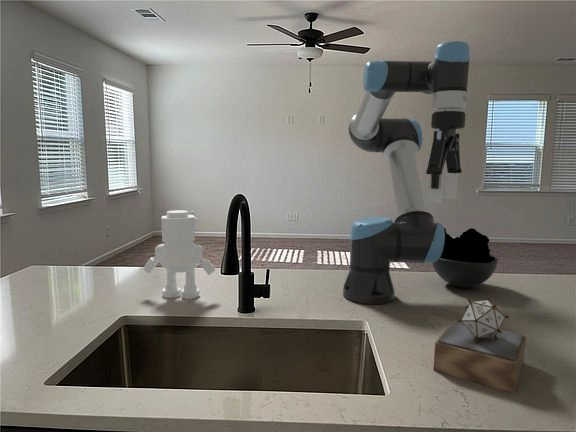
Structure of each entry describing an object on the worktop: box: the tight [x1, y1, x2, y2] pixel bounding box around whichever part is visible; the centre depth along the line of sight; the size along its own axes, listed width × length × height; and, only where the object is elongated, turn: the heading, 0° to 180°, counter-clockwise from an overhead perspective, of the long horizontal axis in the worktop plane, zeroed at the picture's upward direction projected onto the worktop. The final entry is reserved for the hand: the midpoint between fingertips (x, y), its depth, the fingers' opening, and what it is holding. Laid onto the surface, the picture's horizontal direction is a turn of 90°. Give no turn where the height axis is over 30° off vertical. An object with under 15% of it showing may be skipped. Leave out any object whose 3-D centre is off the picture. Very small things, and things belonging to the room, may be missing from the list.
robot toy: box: [143, 209, 216, 300], centre depth 124 cm, size 22×12×25 cm, turn 84°
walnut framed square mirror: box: [433, 319, 527, 394], centre depth 84 cm, size 14×14×6 cm
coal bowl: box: [431, 227, 499, 288], centre depth 137 cm, size 20×20×19 cm
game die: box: [457, 296, 510, 343], centre depth 83 cm, size 9×8×10 cm
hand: (443, 200), depth 104 cm, fingers open, 13 cm apart
